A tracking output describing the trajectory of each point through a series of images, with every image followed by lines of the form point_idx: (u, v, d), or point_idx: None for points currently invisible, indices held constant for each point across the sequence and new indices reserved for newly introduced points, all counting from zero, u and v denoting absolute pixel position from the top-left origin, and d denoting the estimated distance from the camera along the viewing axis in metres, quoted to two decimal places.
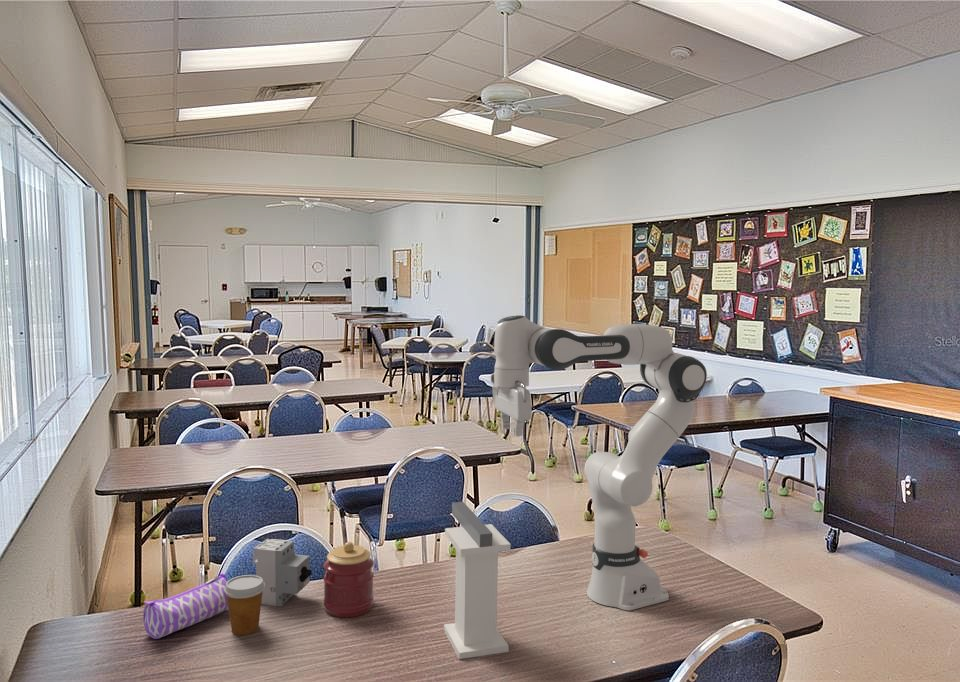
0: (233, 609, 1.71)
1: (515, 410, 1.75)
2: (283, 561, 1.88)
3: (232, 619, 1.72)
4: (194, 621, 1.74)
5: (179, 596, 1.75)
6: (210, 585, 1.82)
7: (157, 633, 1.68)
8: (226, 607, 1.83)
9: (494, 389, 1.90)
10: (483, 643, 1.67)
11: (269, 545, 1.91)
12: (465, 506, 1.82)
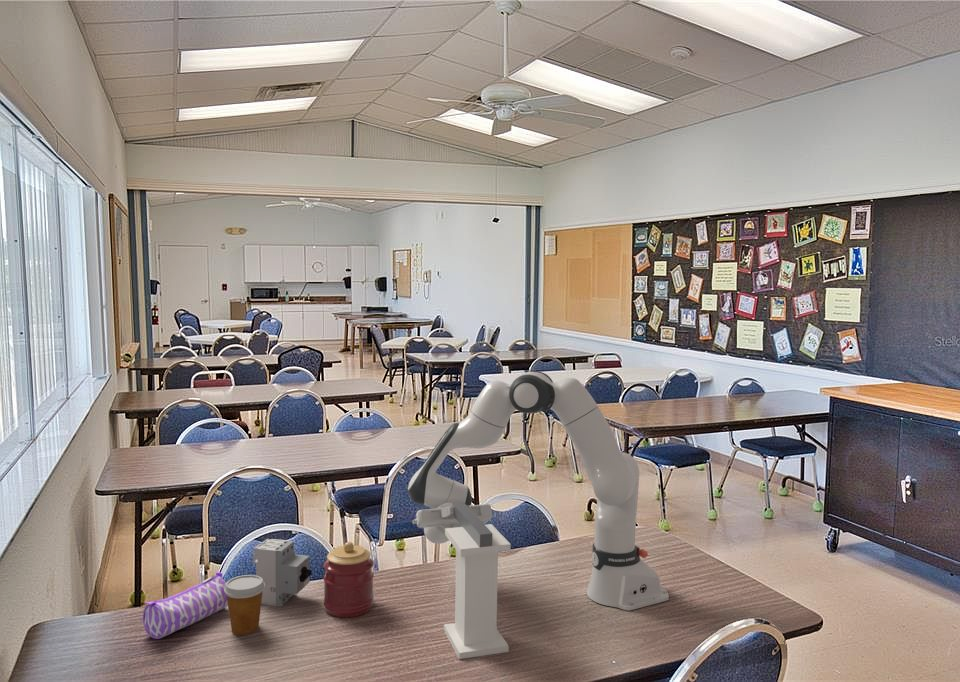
0: (233, 609, 1.71)
1: (425, 524, 1.86)
2: (283, 561, 1.88)
3: (232, 619, 1.72)
4: (194, 620, 1.75)
5: (178, 596, 1.75)
6: (207, 584, 1.82)
7: (159, 633, 1.68)
8: (224, 605, 1.84)
9: None
10: (483, 643, 1.67)
11: (269, 545, 1.91)
12: (465, 506, 1.82)
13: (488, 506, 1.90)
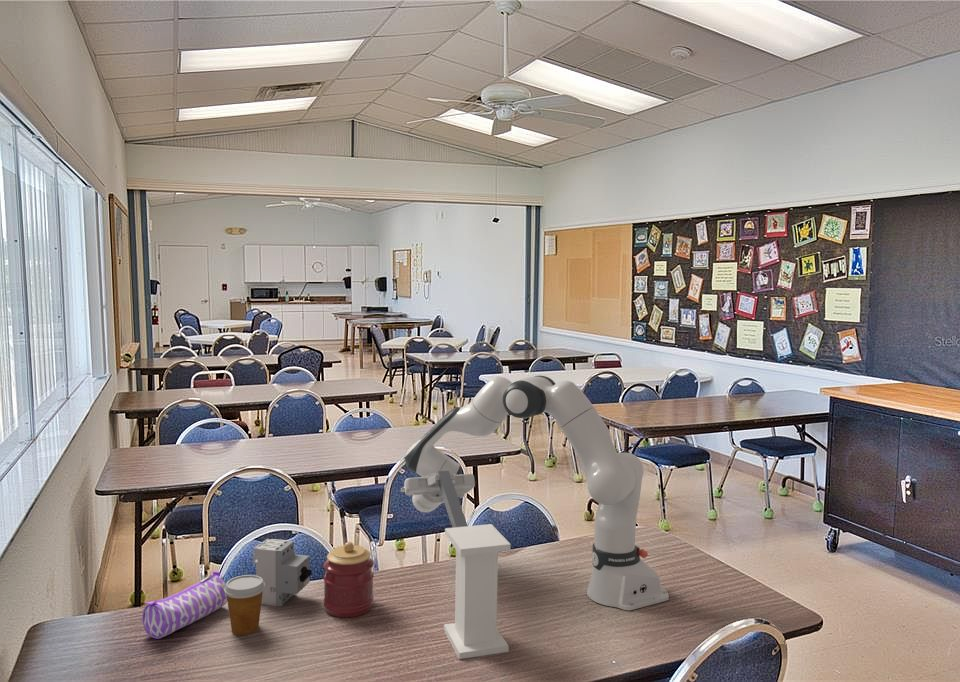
0: (233, 609, 1.71)
1: (412, 492, 2.00)
2: (283, 561, 1.88)
3: (232, 619, 1.72)
4: (194, 619, 1.75)
5: (178, 595, 1.76)
6: (206, 583, 1.83)
7: (160, 632, 1.68)
8: (222, 604, 1.84)
9: (464, 491, 2.07)
10: (483, 643, 1.67)
11: (269, 545, 1.91)
12: (450, 480, 1.95)
13: (471, 475, 2.04)
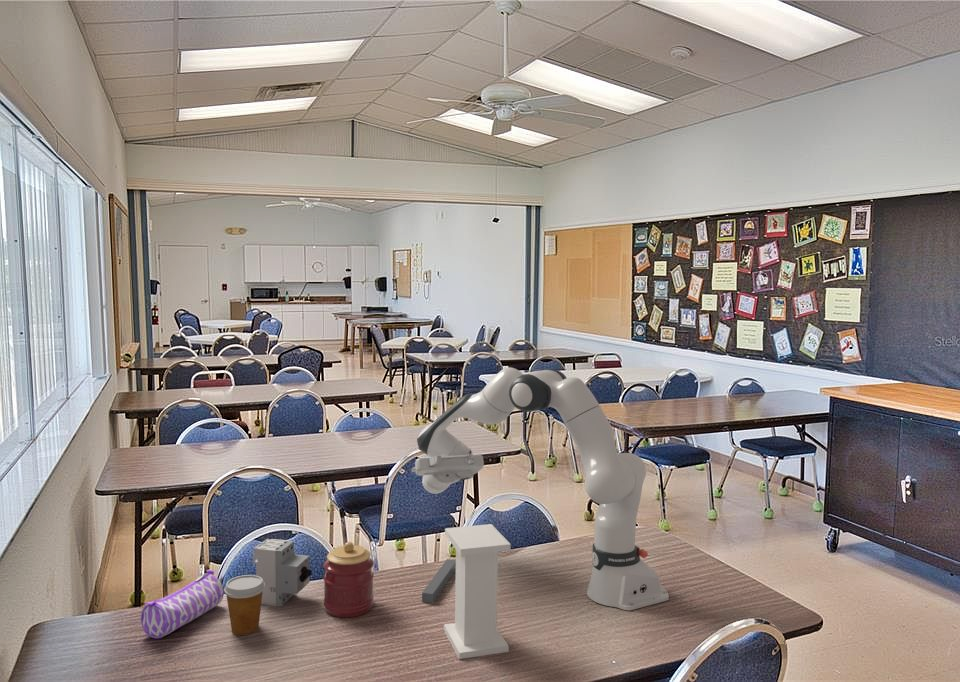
0: (233, 609, 1.71)
1: (423, 471, 2.05)
2: (283, 561, 1.88)
3: (232, 619, 1.72)
4: (193, 618, 1.76)
5: (175, 595, 1.76)
6: (201, 582, 1.84)
7: (161, 632, 1.68)
8: (217, 602, 1.85)
9: (473, 472, 2.12)
10: (483, 643, 1.67)
11: (269, 545, 1.91)
12: (451, 564, 2.10)
13: (480, 456, 2.09)
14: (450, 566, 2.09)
